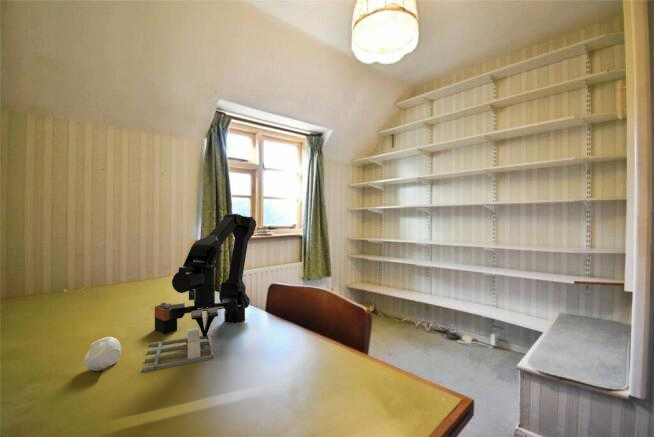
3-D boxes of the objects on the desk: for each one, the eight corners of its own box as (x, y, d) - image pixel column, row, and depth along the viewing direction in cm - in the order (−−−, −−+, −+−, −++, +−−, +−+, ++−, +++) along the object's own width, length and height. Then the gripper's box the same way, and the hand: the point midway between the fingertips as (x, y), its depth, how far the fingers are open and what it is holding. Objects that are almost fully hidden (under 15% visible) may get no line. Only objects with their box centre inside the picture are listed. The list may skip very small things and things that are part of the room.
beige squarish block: (199, 345, 86) (199, 333, 86) (199, 351, 83) (199, 338, 83) (187, 347, 85) (187, 335, 85) (187, 353, 81) (187, 340, 81)
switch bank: (210, 339, 93) (210, 333, 93) (214, 363, 79) (214, 355, 79) (143, 350, 85) (143, 343, 85) (134, 378, 71) (134, 370, 71)
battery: (164, 338, 94) (164, 307, 94) (154, 333, 98) (153, 303, 98) (178, 334, 97) (177, 303, 97) (167, 329, 101) (167, 300, 101)
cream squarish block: (198, 339, 90) (198, 327, 90) (199, 343, 87) (199, 332, 87) (187, 340, 89) (187, 329, 89) (187, 345, 86) (187, 333, 86)
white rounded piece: (84, 366, 77) (84, 336, 77) (120, 358, 81) (120, 330, 81) (83, 380, 70) (83, 348, 70) (122, 370, 75) (122, 339, 75)
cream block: (199, 353, 81) (199, 340, 81) (200, 358, 78) (200, 345, 78) (187, 355, 80) (187, 342, 80) (187, 361, 77) (187, 347, 77)
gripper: (233, 276, 101) (232, 322, 101) (170, 282, 92) (170, 332, 93) (238, 283, 90) (238, 334, 91) (169, 290, 82) (169, 346, 83)
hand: (204, 336), depth 89 cm, fingers closed
